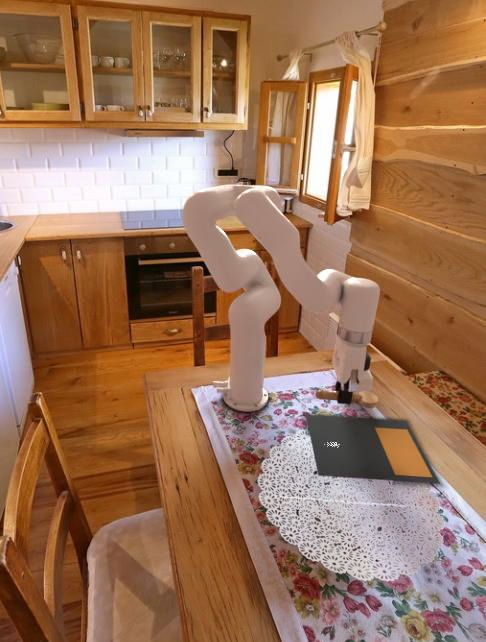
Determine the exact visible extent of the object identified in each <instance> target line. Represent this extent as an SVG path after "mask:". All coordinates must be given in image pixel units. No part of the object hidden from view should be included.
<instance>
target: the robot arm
mask: <svg viewBox="0 0 486 642" xmlns="http://www.w3.org/2000/svg"><path fill="white" fill-rule="evenodd" d="M281 208H282V198H281V196H280V194H279V193H278V191H277V190H276V189H274V188H273V187H271V186H268V185H248V184H247V185H246V184H222V185H218V186H212V187H211V186H210V187H207V188H206V187H205V188H201V189H199V190H197V191H195V192H193V193H192V194H190V195H189V196H188V198H187V199H186V200H185V203H184V205H183V208H182V215H181V217H182V218H181V219H182V225H183V228H184V231H185V232H186V234H187V236H188V238H189V239H190V241H191V242H192V244H193V245H194V247H195V248H196V250H197V251H198V253H199V255H200V257H201V259H202V261H203V262H204V265H205V266H206V268H207V270H208V272H209V273H210V275H211V277H212V279H213V281H214V282H215V284H216V285H217V287H218V288H219V290H221V291H222V292H225V293H227V294H231V293H235V292H237V291H239V290H241V289H242V290H243V291H244V292H242V293H240V294H239V295H238V296H237V297H235V298H234V300H232V302H231V304H230V306H229V308H228V313H227V314H228V315H227V317H228V324H229V330H230V343H229V344H230V346H229V374H228V375H229V376H228V379H227V380H224V381H219V380H213V383H212V388H213V389H216V393H219V394H222V398H223V401H224V402H225V404H226V405H227V406H228V407H230V408H231V409H234V410H235V411H240V412H246V413H247V412H255V411H259V410H261V409H264V407H265V406H266V405H267V404H268V402H269V392H268V391H267V389H266V388H264V382H265V368H266V355H267V353H266V352H267V336H266V332H265V331H266V330H265V326H266V325H265V324H266V323H267V321H269V319H271V317H272V316H274V315H275V314H276V313H277V312H278V311H279V309H280V307H281V304H282V297H281V293H280V291H279V288H278V287H277V285H276V283H275V281H274V280H273V278H272V276H271V274H270V272H269V270H268V268H267V267H266V265H265V263H264V262H263V260H262V259H261V257H260V255H258V254H257V253H256V252H254V250H251V249H248V248H238V249H237V250H236V249H235V248H234V246H233V244H232V242H231V240H230V238H229V237H228V235H227V234H226V232H224V230H222V229H221V228H220V227H219V226H218V225H217V223H216V222H217V221H220V220H223V219H226V218H229V217H236V218H237V219H238V220H239V221H240V223H241V224H242V225H243V226H244V227H245V228H246V229H247V230H248V232H249V233H251V235H252V236H253V237H254V238H255V239H256V240H257V241H258V243H259V244H260V245H261V246H262V247H263V248H264V249H265V250H266V252H267V253H268V254H269V255H270V256H271V258H272V262H273V266H274V267H275V270H276V273H277V275H278V277H279V279H280V281H281V283H282V284H283V286H284V287H285V289H286V290H287V291H288V292H289V293H290V294H291V296H292V297H293V298H294V299H295V300H296V301H297V302H298V303H299V304H300V305H301V306H302V307H303V308H304V309H305V310H306V311H308V312H311V313H313V314H316V315H323V314H326V313H328V312H330V311H331V310H333V308H334V307H335V306H336V305H337V304H340V310H339V317H338V322H337V327H336V328H337V329H336V340H335V343H334V349H333V353H332V359H331V364H332V367H333V370H334V374H335V376H336V380H335V381H336V382H335V388H334V391H339V392H338V398H337V401H336V403H337V404H340V405H351V404H352V402H351V400H352V395H353V392H356V383H357V384H358V385H359V384H360V383H361V381H362V377H363V372H364V365H365V358H366V353H367V347H368V345H370V344H371V341H372V335H373V330H374V326H375V320H376V316H377V311H378V305H379V300H380V295H381V288H380V286H379V284H378V283H377V282H375V280H374V281H373V280H371V279H368V278H362V277H356V276H355V277H354V276H352V275H349V274H348V273H347V274H346V273H344V272H342V271H339V270H336V269H331V268H330V269H329V268H328V269H324V270H321V271H320V272H318V274H316V273H315V272H314V270H313V269H311V267H310V266H309V265H308V263H307V262H306V260H305V258H304V256H303V253H302V250H301V235H300V231H299V229H298V228H296V226H294V224H293V223H292V222H291V221H290V220H289V219H288V218H287V217H286V216H285V215H284V214H283V212H282V211H281Z"/></svg>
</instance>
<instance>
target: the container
mask: <svg viewBox="0 0 486 642" xmlns="http://www.w3.org/2000/svg"><path fill="white" fill-rule="evenodd" d="M371 360H372V357H371V356H370V354H369V353H367V352H366V358H365V365H364V372H363V377H362V381H361V383H360V384H359V385H358V384H357V383H356V392H355V393H360V392H363V391H367V392H371V393H372V391H373V386H374V377H373V375H372V373H371V370H370V367H371V362H372V361H371Z"/></svg>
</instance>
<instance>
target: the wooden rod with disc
mask: <svg viewBox="0 0 486 642" xmlns="http://www.w3.org/2000/svg"><path fill="white" fill-rule="evenodd" d="M338 392H339V391H335V390H325V389H317V390H316V391H315V393H314V394H315V397H316V399H318V400H322V401H323V400H324V401H336V402H337V398H338ZM351 403H358V404H359V405H360V406H362V407H364V408H367V409H375V408H376V407H378V403H379V397H378V396H377V395H376V394H375V393H373V392H372V391H371V392H367V391H363V392H360V393H355V392H353V395H352V400H351Z"/></svg>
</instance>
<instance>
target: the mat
mask: <svg viewBox="0 0 486 642" xmlns="http://www.w3.org/2000/svg"><path fill="white" fill-rule="evenodd" d="M305 419H306V423H307V427H308V432H309V437H310V443H311V446H312V452H313V456H314V460H315V466H316V471H317V475H318V476H319V477H320V476H321V477H335V478H350V479H366V480H378V481H379V480H380V481H395V482H408V483H409V482H411V483H424V484H436V485H437V484H438V485H439V484H441V482H440V480H439V479H438V477H437V475H436V473H435V471H434V469H433V468H432V466H431V464H430V462H429V460H428V459H427V456H426V455H425V453H424V451H423V449H422V447H421V445H420V444H419V442H418V440H417V439H416V436H415V434H414V433H413V431H412V429H411V427H410V425H409V424H408V421H407V420H402V419H384V418H365V417H352V416H351V417H349V416H336V415H335V416H333V415H320V414H319V415H317V414H316V415H315V414H305ZM327 442H328V443H329V444H330V445H331V443H332V442H334V443H335V442H337V445H338V444H340V445H338V446H339V447H338V446H335V447H334V446H333V445H334V443H332V444H333V445H332V446H333V447H332V446H330V445H329V444H328V443H327ZM330 442H331V443H330ZM324 444H325V445H324ZM327 444H328V445H329V446H328V445H327ZM335 444H336V443H335ZM327 446H328V447H327ZM337 447H338V448H337Z"/></svg>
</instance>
